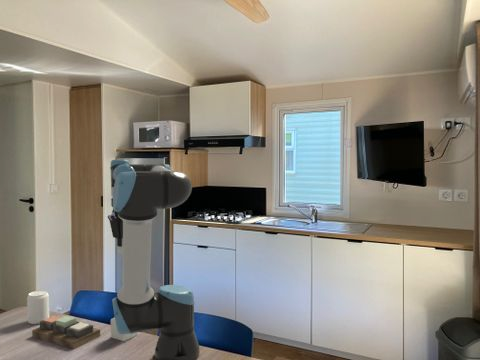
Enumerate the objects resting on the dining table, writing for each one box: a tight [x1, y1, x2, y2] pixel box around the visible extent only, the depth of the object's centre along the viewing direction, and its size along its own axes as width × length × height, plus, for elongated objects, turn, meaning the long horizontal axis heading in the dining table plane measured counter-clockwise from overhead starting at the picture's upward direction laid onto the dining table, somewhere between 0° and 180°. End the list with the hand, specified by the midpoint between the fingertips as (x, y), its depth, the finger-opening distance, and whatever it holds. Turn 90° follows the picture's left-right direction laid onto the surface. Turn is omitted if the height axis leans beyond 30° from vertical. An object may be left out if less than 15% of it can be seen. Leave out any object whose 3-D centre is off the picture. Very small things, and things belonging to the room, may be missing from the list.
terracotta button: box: [43, 315, 61, 324], centre depth 156 cm, size 5×5×2 cm
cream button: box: [70, 321, 91, 331], centre depth 149 cm, size 5×5×2 cm
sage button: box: [56, 315, 77, 327], centre depth 153 cm, size 5×5×2 cm
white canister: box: [26, 290, 50, 325], centre depth 168 cm, size 8×8×12 cm
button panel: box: [31, 315, 101, 350], centre depth 153 cm, size 23×12×5 cm, turn 62°
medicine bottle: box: [110, 317, 139, 342], centre depth 153 cm, size 7×7×12 cm
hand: (122, 253), depth 166 cm, fingers closed
